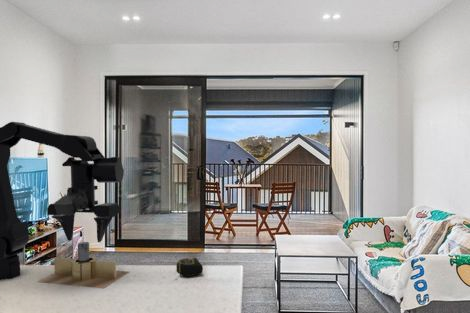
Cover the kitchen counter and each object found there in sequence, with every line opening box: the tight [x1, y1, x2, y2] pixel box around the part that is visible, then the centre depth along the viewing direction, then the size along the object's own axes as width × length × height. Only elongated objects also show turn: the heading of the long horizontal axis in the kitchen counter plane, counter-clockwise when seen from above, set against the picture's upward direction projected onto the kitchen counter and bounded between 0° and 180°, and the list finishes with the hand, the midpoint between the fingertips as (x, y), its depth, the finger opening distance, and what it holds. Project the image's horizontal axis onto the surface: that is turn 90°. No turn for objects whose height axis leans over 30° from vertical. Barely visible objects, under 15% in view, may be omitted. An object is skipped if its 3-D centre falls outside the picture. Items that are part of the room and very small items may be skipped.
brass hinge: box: [53, 255, 117, 281], centre depth 96 cm, size 19×6×4 cm, turn 76°
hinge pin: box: [77, 241, 91, 263], centre depth 96 cm, size 3×3×9 cm
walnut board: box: [36, 270, 130, 289], centre depth 96 cm, size 20×12×1 cm, turn 76°
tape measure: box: [175, 257, 204, 277], centre depth 100 cm, size 7×7×4 cm
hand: (84, 241), depth 96 cm, fingers open, 9 cm apart
